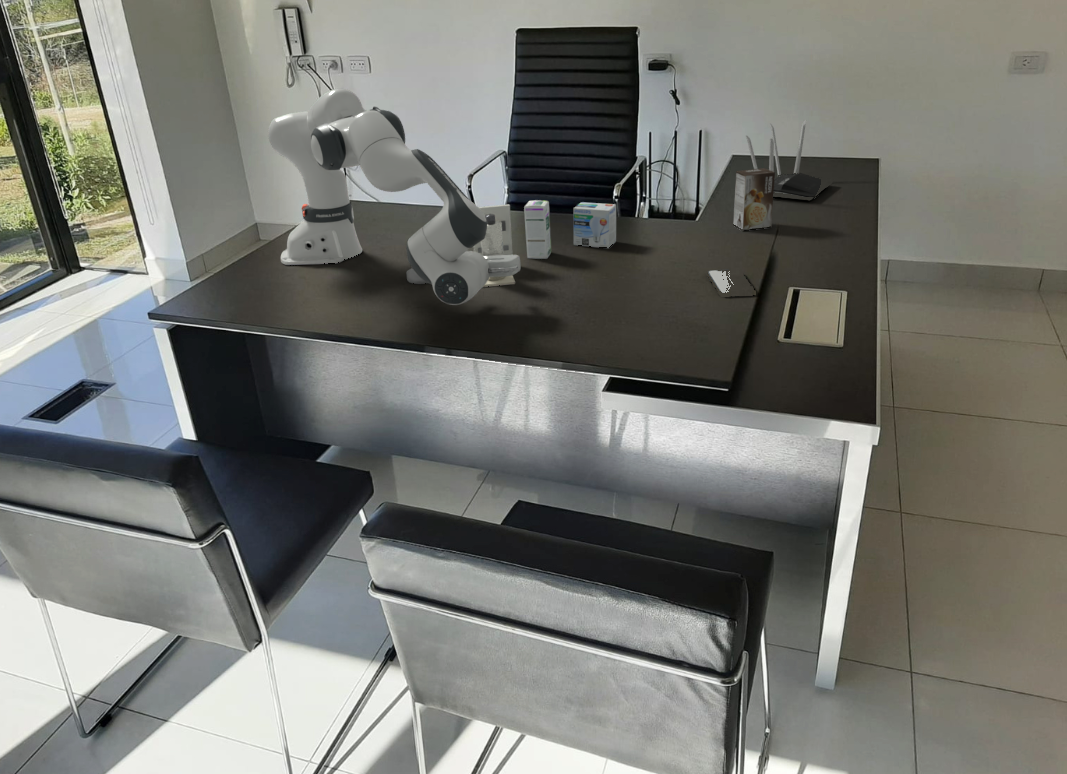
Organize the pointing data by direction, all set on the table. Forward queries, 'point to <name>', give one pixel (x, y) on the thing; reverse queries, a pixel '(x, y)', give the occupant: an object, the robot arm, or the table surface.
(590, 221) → the light bulb box
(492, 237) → the metal bottle
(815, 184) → the wireless router
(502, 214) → the breaker panel
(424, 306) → the table surface
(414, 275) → the grey hockey puck
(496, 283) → the pad
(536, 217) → the syrup box
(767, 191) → the coffee box
